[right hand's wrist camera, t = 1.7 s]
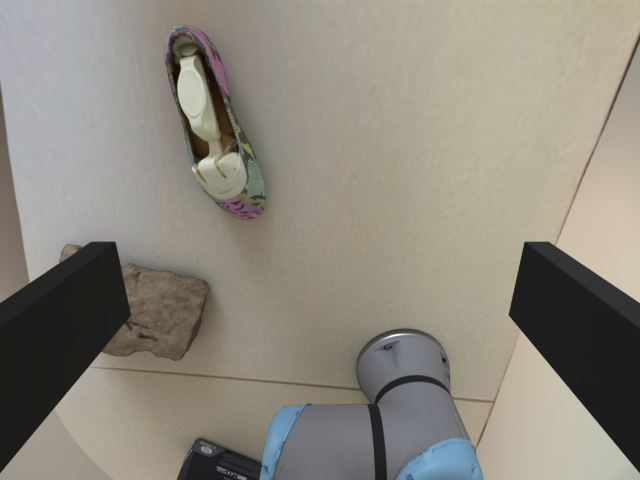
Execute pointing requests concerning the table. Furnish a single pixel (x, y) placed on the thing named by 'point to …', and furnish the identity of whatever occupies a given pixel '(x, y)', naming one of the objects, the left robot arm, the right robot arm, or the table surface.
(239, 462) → the graphics card box
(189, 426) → the table surface
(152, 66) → the table surface
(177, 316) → the stone
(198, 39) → the ballet flat
